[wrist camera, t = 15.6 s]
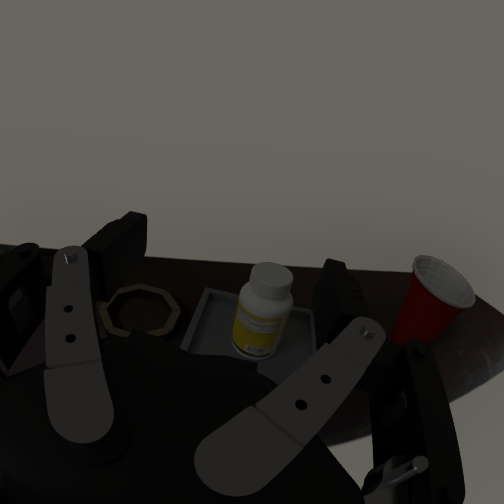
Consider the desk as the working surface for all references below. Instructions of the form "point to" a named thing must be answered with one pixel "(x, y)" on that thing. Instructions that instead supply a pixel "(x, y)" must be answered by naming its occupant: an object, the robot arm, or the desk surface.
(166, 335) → the ring collar
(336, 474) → the robot arm
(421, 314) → the plastic cup
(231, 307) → the tray
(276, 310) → the supplement bottle
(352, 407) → the desk surface
